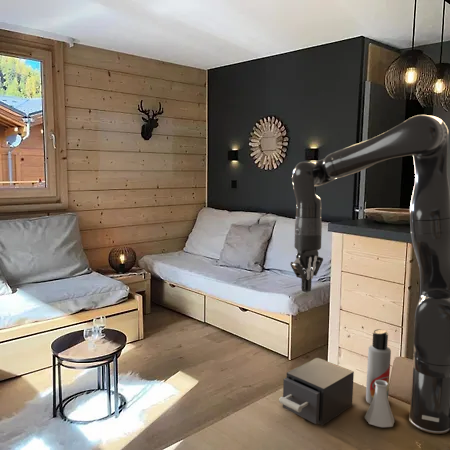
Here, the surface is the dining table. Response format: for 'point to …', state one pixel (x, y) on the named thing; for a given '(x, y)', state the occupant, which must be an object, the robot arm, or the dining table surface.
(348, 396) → the cabinet
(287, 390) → the drawer
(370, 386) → the lotion bottle
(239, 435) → the dining table surface
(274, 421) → the dining table surface
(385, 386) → the flask
